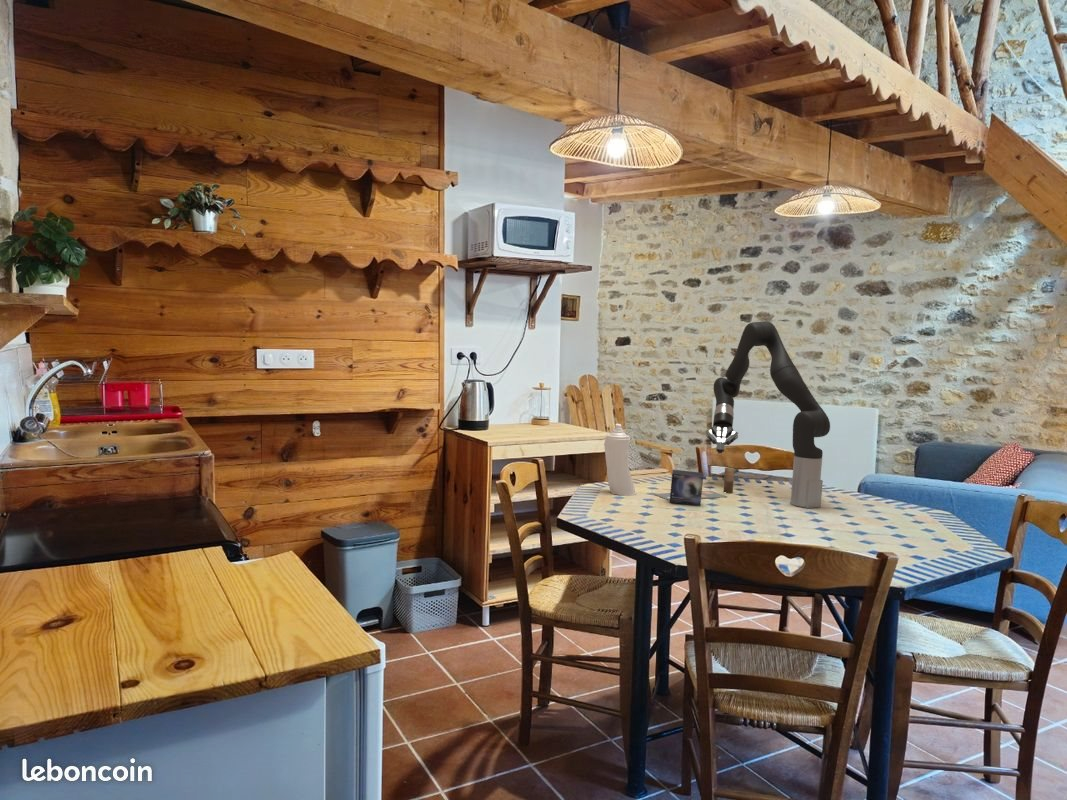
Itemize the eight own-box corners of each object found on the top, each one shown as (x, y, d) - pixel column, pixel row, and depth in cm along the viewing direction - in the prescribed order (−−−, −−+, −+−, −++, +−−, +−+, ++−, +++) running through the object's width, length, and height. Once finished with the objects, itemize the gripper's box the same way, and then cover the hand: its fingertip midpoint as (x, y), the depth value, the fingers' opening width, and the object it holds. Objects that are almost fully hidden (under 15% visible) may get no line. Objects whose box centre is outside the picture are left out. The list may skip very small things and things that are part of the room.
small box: (669, 502, 240) (671, 472, 238) (669, 498, 246) (672, 469, 245) (700, 506, 237) (703, 476, 236) (700, 501, 244) (703, 472, 242)
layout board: (727, 497, 253) (727, 496, 253) (669, 500, 243) (669, 500, 243) (710, 491, 262) (710, 490, 262) (653, 494, 253) (653, 493, 253)
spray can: (613, 496, 246) (617, 426, 244) (597, 490, 256) (600, 422, 254) (640, 494, 252) (644, 425, 250) (623, 488, 261) (627, 422, 259)
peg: (734, 493, 261) (736, 469, 260) (727, 493, 260) (728, 469, 259) (728, 491, 264) (730, 467, 264) (721, 491, 263) (723, 468, 262)
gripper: (706, 410, 279) (702, 444, 268) (740, 412, 275) (737, 446, 264) (706, 422, 284) (702, 456, 273) (740, 424, 280) (737, 459, 269)
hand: (720, 451), depth 269 cm, fingers closed
